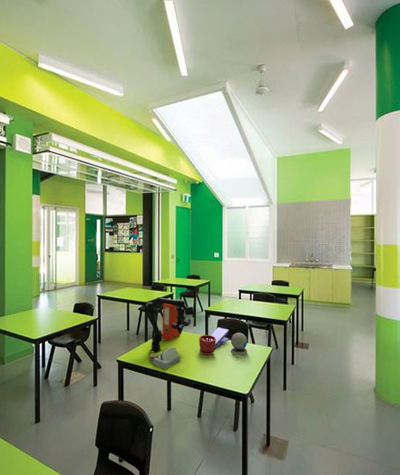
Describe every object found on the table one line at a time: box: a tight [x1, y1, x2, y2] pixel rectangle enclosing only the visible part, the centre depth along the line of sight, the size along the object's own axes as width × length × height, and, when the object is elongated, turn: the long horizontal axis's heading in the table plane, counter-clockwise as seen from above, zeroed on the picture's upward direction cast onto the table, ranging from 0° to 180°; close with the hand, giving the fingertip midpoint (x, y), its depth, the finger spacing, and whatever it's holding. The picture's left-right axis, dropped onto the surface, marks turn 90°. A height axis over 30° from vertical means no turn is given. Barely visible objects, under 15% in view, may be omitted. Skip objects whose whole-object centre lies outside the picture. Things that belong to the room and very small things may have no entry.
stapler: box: [207, 327, 230, 350], centre depth 238 cm, size 12×28×10 cm, turn 148°
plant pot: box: [198, 334, 216, 356], centre depth 217 cm, size 13×13×12 cm
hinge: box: [159, 347, 180, 362], centre depth 201 cm, size 17×5×10 cm, turn 148°
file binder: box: [161, 303, 181, 342], centre depth 249 cm, size 8×17×32 cm, turn 150°
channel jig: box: [153, 355, 181, 370], centre depth 198 cm, size 11×16×4 cm
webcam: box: [230, 332, 248, 356], centre depth 221 cm, size 13×13×15 cm
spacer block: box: [148, 352, 160, 363], centre depth 201 cm, size 5×5×4 cm
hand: (180, 334), depth 223 cm, fingers closed
